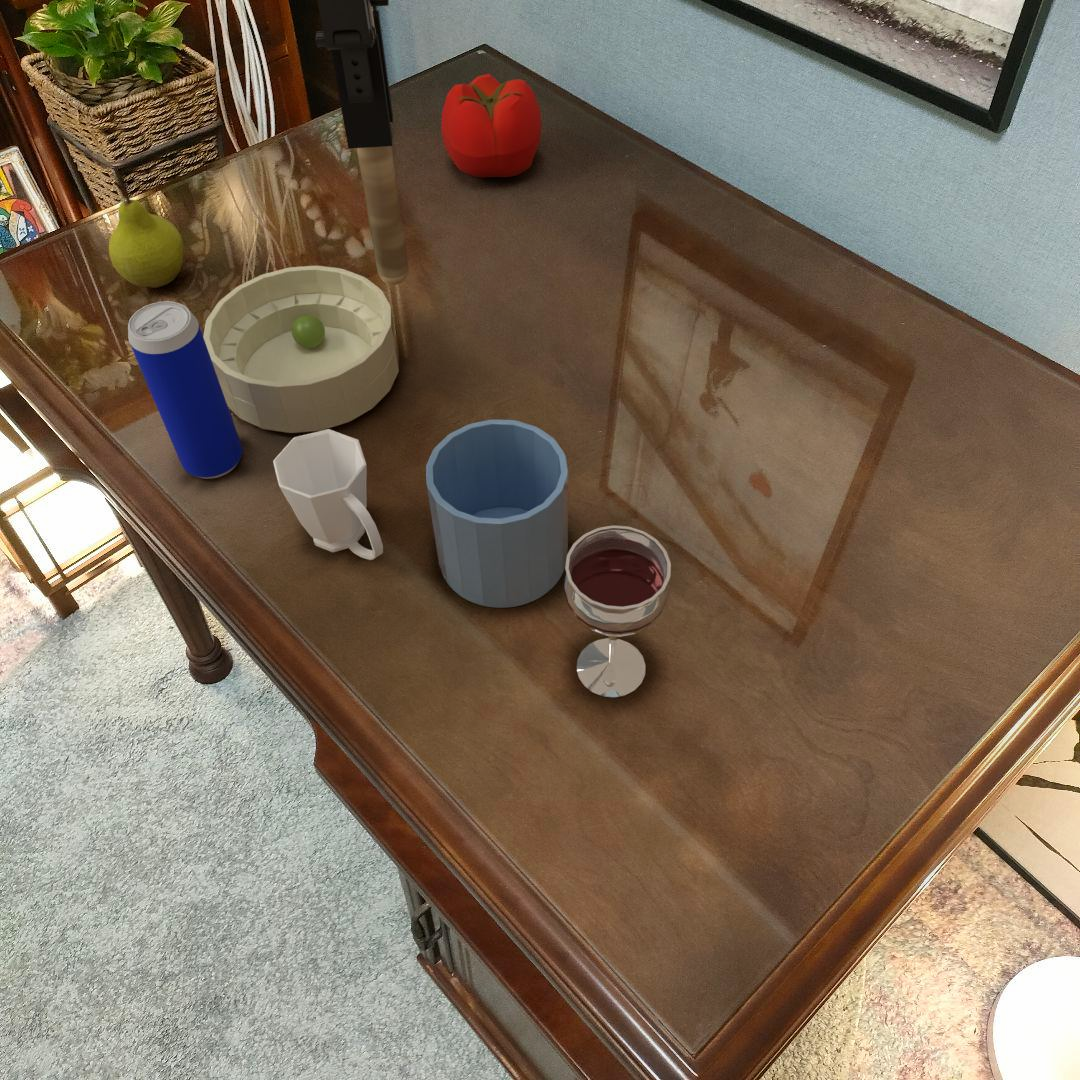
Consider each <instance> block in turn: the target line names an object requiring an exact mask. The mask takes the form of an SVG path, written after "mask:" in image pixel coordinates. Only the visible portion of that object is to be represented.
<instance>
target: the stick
mask: <svg viewBox="0 0 1080 1080" xmlns="http://www.w3.org/2000/svg"><path fill="white" fill-rule="evenodd" d="M370 8H371V15H372V23H373V26H374V19H373V12H372V11H373V6H372V7H371V4H370ZM374 27H375V26H374ZM356 153H357V160H358V165H359V171H360V177H361V182H362V188H363V194H364V201H365V204H366V206H365V207H366V212H367V218H368V224H369V229H370V237H371V242H372V247H373V252H374V258H375V259H374V260H375V264H376V265H375V266H376V269H377V270H376V271H377V274H378V277H379V278H380V280H382V281H383V282H384V283H386V284H388V285H393V286H396V285H399V284H401V283H403V282H404V281H405V280H406V279H407V277H408V275H409V273H410V271H409V270H410V267H409V260H408V251H407V247H406V246H407V245H406V240H405V239H406V238H405V232H404V225H403V218H402V217H403V216H402V211H401V203H400V196H399V191H398V189H399V188H398V182H397V181H398V180H397V175H396V174H397V173H396V167H395V161H394V154H393V145H392V146H385V147H368V148H356Z"/></svg>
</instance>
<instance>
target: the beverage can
mask: <svg viewBox="0 0 1080 1080" xmlns="http://www.w3.org/2000/svg"><path fill="white" fill-rule="evenodd" d="M203 335H204V334H203V332H202V329H201V325H200V323H199V321H198V318H197V317H196V316H195V315H194V313H192V311H191V310H190V309H189V308H188V307H187V306H186V305H184V304H182V303H181V302H176V301H171V300H170V301H169V300H168V301H164V300H163V301H155V302H153V303H152V302H151V303H150V304H147V305H145V306H143V307H140V308H139V309H137V310H136V311H135V312H134V313H133V314H132V315H131V317H130V318H129V321H128V323H127V337H128V339H127V340H128V343H129V345H130V348H131V350H132V352H133V354H134V356H135V359H136V361H137V364H138V366H139V369H140V372H141V374H142V375H143V378H144V380H145V383H146V385H147V387H148V390H149V392H150V394H151V397H152V399H153V401H154V404H155V406H156V408H157V411H158V414H159V416H160V418H161V420H162V423H163V425H164V428H165V430H166V432H167V434H168V437H169V439H170V442H171V444H172V446H173V448H174V450H175V453H176V456H177V457H178V460H179V462H180V464H181V466H182V469H183V470H184V471H185V472H186V473H188V474H189V475H191V476H194V477H196V478H199V479H206V480H209V479H210V480H211V479H217V478H221V477H223V476H225V475H228V474H229V473H230V472H231V471H233V470H234V469H235V468H236V467H237V465H238V464H239V462H240V460H241V458H242V455H243V446H242V443H241V440H240V437H239V435H238V431H237V428H236V426H235V422H234V420H233V418H232V417H233V416H232V415H231V411H230V408H229V407H228V406H227V403H226V400H225V397H224V394H223V391H222V389H221V386H220V383H219V380H218V377H217V374H216V372H215V369H214V366H213V363H212V360H211V357H210V355H209V352H208V349H207V346H206V343H205V340H204V337H203Z"/></svg>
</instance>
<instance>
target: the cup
mask: <svg viewBox="0 0 1080 1080" xmlns="http://www.w3.org/2000/svg"><path fill="white" fill-rule="evenodd" d="M272 463H273V467H274V471H275V476H276V479H277V483H278V487H279V488H280V490H281V492H282V494H283V496H284V497H285V499H286V501H287V502H288V504H289V505H290V508H291V509H292V511H293V513H294V514H295V517H296V518H297V520H298V523H299V524H300V525H301V526H302V527H303V528H304V530H305V531H306V532H307V533H308V535H309V536H310V537H311V538H312V539H313V544H314V546H316V547H318V548H320V549H323V550H326V551H328V552H330V553H336V552H340V551H343V550H346V549H349V550H350V551H351V552H352V554H354V555H356V556H358V557H360V558H362V559H366V560H368V561H373V560H374V559H376V558H378V557H379V556H381V555H382V554H384V545H383V542H382V541H383V540H382V538H381V534H380V532H379V530H378V527H377V524H376V522H375V521H374V519H373V517H372V516H371V513H370V512H369V511H368V510H367V509H368V508H367V503H368V502H367V501H368V500H367V461H366V459H365V456H364V453H363V449H362V446H361V444H360V440H359V439H358V438H354V437H352V436H349V435H346V434H343V433H341V432H338V431H335V430H333V429H331V428H328V429H324V430H320V431H314V432H311V433H310V432H309V433H307V434H303V435H298V436H294V437H293V438H292V439H291V440H290V441H289V442H288V443H287V444H286V445H285V446H284V448H283V449H282V450H281V451H280V452H279V453H278V454H277V455H276V457H275V458H274V459H273V460H272ZM365 533H366V534H367V537H368V540H369V542H370V546H371V549H368V548H366V547H365V546H362V545H361V544H360V543H359V540H360V539H361V538H362V536H363V535H364V534H365Z"/></svg>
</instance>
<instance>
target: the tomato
mask: <svg viewBox="0 0 1080 1080" xmlns="http://www.w3.org/2000/svg"><path fill="white" fill-rule="evenodd" d="M542 128H543V123H542V114H541V108H540V105H539V102H538V99H537V97H536V94H535V93H534V91H533V89H532V88H531V86H530V85H529V84H527V82H526V81H525V80H523V79H520V78H517V79H512V80H510V79H508V80H506V81H503V82H502V83H501V82H499V80H497V79H496V78H495V77H494V76H493V75H491V74H490V73H486V74H482V75H478V76H476V77H475V78H474V79H473V80H472V81H471V82H468V84H467V83H459V84H454V85H453V86H452V87H451V89H450V90H449V91H448V92H447V94H446V97H445V102H444V105H443V108H442V113H441V135H442V139H443V140H442V141H443V144H444V145H443V146H444V148H445V150H446V152H447V154H448V156H449V158H450V159H451V161H452V162H453V164H455V166H456V168H457V169H458V170H460V172H462V173H464V174H466V175H468V176H469V177H470V176H471V177H475V178H510V177H511V178H512V177H514V176H519V175H520V174H522V173H524V172H525V171H528V169H529V168H530V167H531V166H532V163H533V160H534V157H535V154H536V153H537V152H538V149H539V146H540V143H541V139H542V130H543V129H542Z"/></svg>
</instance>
